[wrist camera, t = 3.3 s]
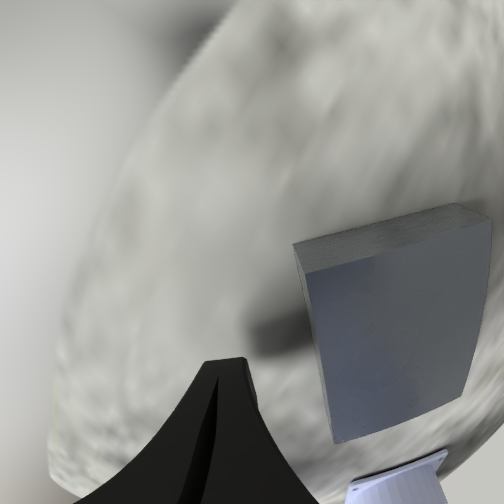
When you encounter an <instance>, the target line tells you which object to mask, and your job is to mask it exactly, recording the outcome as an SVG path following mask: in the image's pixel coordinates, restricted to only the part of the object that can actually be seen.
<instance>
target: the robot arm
mask: <svg viewBox="0 0 504 504" xmlns="http://www.w3.org/2000/svg"><path fill="white" fill-rule="evenodd" d="M447 454H448V450H447V449H444V450H441V451H439V452H437V453H435V454H432V455H430V456H428V457H425V458H423V459H420V460H418V461H415V462H413V463H410V464H408V465H405V466H402V467H399V468H396V469H393V470H391V471H387V472H384V473H381V474H378V475H375V476H371V477H368V478H364V479H361V480H357V481H354V482H351V483H350V484H349V486H348V491H347V495H346V499H345V503H344V504H448V502H447V500H446V497H445V495H444V492H443V490H442V487H441V485H440V483H439V480H438V478H437V475H436V473H435V472H436V471H437V469H438V468H439V466H440V465H441V463H442V462H443V460H444V459H445V457H446V456H447ZM73 504H319V503H318V502H317V501H316V499H315V498H314V497H313V496H312V495H311V494H310V492H309V491H308V490H307V488H306V487H305V486H304V485H303V483H302V482H301V481H300V479H299V478H298V477H297V475H296V474H295V473H294V471H293V470H292V469H291V467H290V466H289V464H288V463H287V461H286V460H285V458H284V457H283V455H282V453H281V452H280V450H279V449H278V447H277V445H276V444H275V442H274V440H273V438H272V436H271V435H270V433H269V431H268V429H267V427H266V425H265V423H264V421H263V419H262V416H261V414H260V412H259V410H258V403H257V395H256V392H255V388H254V384H253V381H252V377H251V373H250V370H249V366H248V362H247V359H246V358H244V357H237V358H229V359H221V360H212V361H205V362H204V363H203V364H202V366H201V368H200V370H199V371H198V373H197V375H196V376H195V378H194V380H193V382H192V383H191V385H190V386H189V388H188V390H187V391H186V393H185V394H184V396H183V397H182V399H181V401H180V402H179V404H178V405H177V407H176V408H175V410H174V411H173V412H172V414H171V415H170V417H169V418H168V419H167V421H166V422H165V423H164V424H163V426H162V427H161V428H160V430H159V431H158V432H157V434H156V435H155V436H154V437H153V438H152V440H151V441H150V442H149V443H148V444H147V445H146V446H145V447H144V448H143V450H142V451H141V452H140V453H139V454H138V455H137V456H136V457H135V458H134V459H133V460H132V461H131V462H129V463H128V464H127V465H126V466H125V467H124V468H123V469H122V470H121V471H120V472H118V473H117V474H116V475H115V476H114V477H112V478H111V479H110V480H108V481H107V482H106V483H104V484H103V485H102V486H100V487H99V488H97V489H96V490H95V491H93V492H92V493H90V494H89V495H87V496H85V497H84V498H82V499H81V500H79V501H77V502H75V503H73Z"/></svg>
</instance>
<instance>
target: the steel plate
mask: <svg viewBox="0 0 504 504" xmlns="http://www.w3.org/2000/svg"><path fill="white" fill-rule="evenodd" d="M491 236H492V219H490V218H487V217H485V216H483V215H481V214H478V213H476V212H474V211H471V210H469V209H467V208H464V207H462V206H460V205H457V204H455V203H452V204H448V205H444V206H440V207H436V208H432V209H429V210H425V211H421V212H417V213H413V214H409V215H405V216H401V217H397V218H394V219H390V220H386V221H382V222H378V223H374V224H370V225H366V226H362V227H359V228H355V229H351V230H347V231H343V232H339V233H335V234H331V235H327V236H323V237H319V238H316V239H312V240H308V241H304V242H300V243H296V244H292V245H293V249H294V253H295V258H296V262H297V267H298V271H299V276H300V280H301V285H302V289H303V294H304V299H305V303H306V308H307V313H308V318H309V323H310V328H311V333H312V338H313V343H314V348H315V353H316V359H317V364H318V369H319V375H320V380H321V386H322V391H323V397H324V403H325V409H326V413H327V417H328V421H329V425H330V429H331V433H332V437H333V442H334V444H338V443H342V442H346V441H349V440H353V439H356V438H359V437H363V436H366V435H369V434H372V433H375V432H378V431H381V430H384V429H387V428H389V427H392V426H395V425H398V424H400V423H403V422H405V421H408V420H410V419H413V418H415V417H418V416H420V415H422V414H425V413H427V412H429V411H431V410H434V409H436V408H438V407H440V406H442V405H444V404H446V403H449V402H451V401H453V400H455V399H457V398H458V397H460V396H461V395H462V392H463V389H464V386H465V383H466V380H467V377H468V373H469V370H470V367H471V363H472V359H473V356H474V352H475V348H476V344H477V340H478V335H479V331H480V326H481V321H482V316H483V310H484V304H485V298H486V291H487V284H488V275H489V265H490V253H491Z"/></svg>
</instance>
